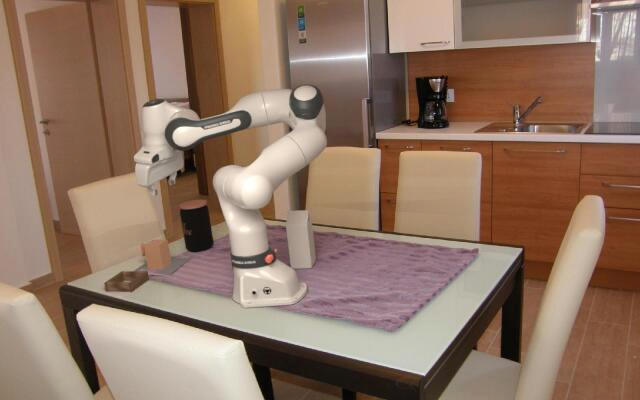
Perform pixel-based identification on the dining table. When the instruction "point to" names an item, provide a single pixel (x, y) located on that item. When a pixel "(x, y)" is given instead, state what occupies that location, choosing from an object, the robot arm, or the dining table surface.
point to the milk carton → (300, 239)
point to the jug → (156, 254)
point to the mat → (171, 268)
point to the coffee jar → (196, 225)
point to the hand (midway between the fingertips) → (163, 189)
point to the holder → (119, 286)
